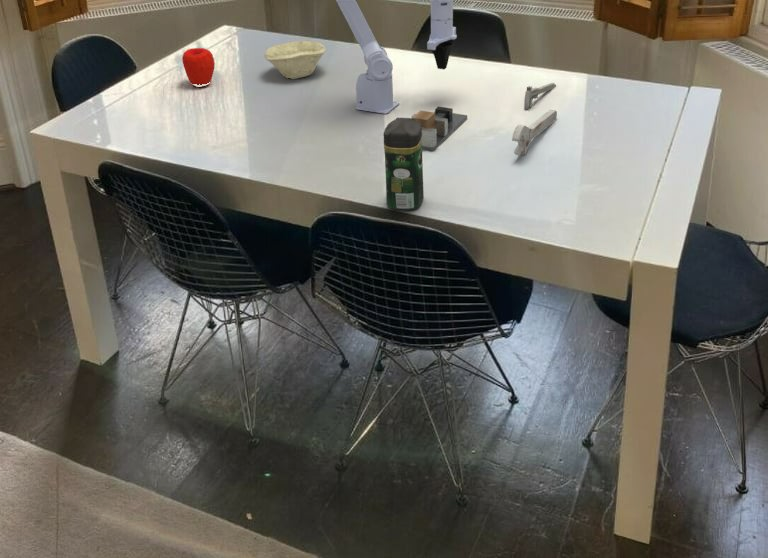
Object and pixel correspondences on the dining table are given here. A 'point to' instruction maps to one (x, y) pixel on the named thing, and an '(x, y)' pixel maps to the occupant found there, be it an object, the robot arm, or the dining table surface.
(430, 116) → the block
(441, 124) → the slide jaw
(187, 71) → the apple
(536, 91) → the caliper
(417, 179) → the coffee jar
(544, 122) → the wrench
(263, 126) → the dining table surface
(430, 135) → the vise
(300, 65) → the bowl
